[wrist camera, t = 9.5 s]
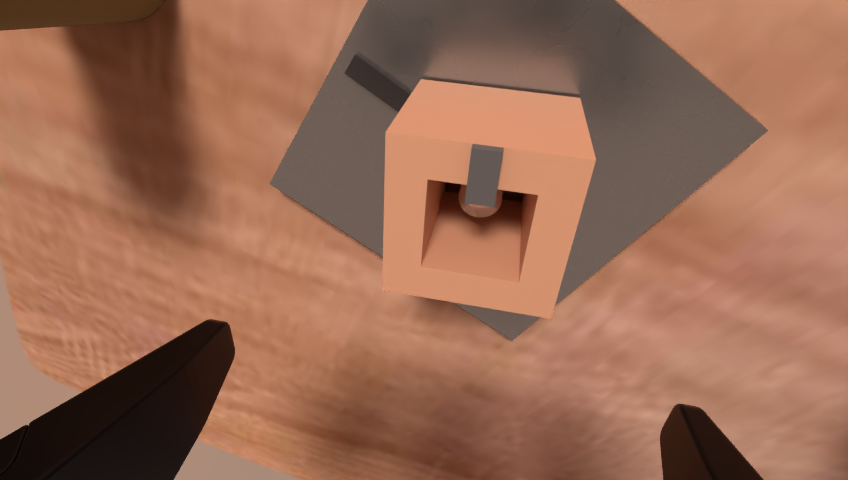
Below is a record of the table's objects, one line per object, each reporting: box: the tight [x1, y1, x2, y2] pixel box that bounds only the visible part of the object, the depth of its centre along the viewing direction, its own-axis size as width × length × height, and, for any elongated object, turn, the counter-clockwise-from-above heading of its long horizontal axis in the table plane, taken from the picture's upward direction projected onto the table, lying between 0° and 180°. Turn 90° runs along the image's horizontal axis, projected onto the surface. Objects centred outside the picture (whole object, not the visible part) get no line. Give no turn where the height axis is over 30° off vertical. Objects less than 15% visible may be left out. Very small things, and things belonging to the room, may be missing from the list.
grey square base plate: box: [270, 0, 768, 340], centre depth 18 cm, size 13×13×4 cm
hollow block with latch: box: [382, 79, 596, 319], centre depth 16 cm, size 5×5×5 cm
